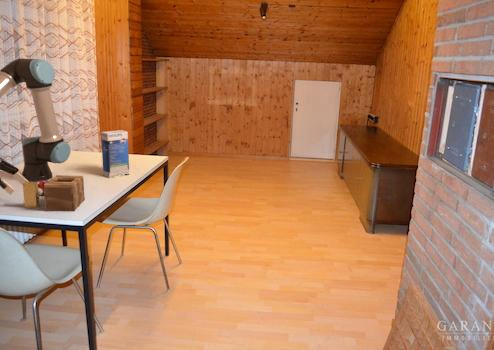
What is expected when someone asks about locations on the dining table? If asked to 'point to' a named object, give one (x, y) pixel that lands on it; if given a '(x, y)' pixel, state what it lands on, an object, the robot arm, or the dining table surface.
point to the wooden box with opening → (64, 193)
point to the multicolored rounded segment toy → (41, 187)
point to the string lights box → (115, 153)
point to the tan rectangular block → (31, 194)
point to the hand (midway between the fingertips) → (20, 188)
